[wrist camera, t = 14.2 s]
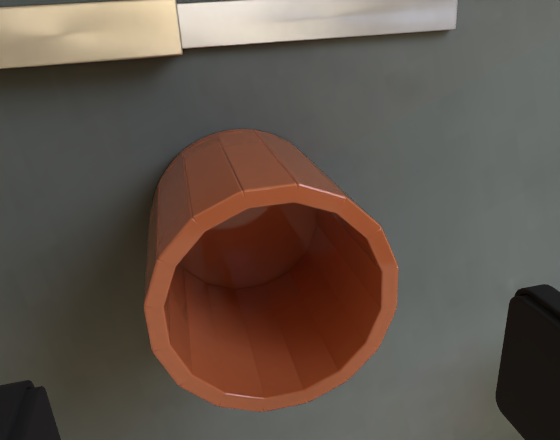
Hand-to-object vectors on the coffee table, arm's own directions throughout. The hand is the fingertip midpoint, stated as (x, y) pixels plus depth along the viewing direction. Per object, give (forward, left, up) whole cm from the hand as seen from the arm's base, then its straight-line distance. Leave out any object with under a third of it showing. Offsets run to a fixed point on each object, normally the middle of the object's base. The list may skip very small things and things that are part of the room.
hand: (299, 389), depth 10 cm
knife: (0, +7, -11) cm, 12 cm away
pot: (0, 0, -11) cm, 11 cm away
